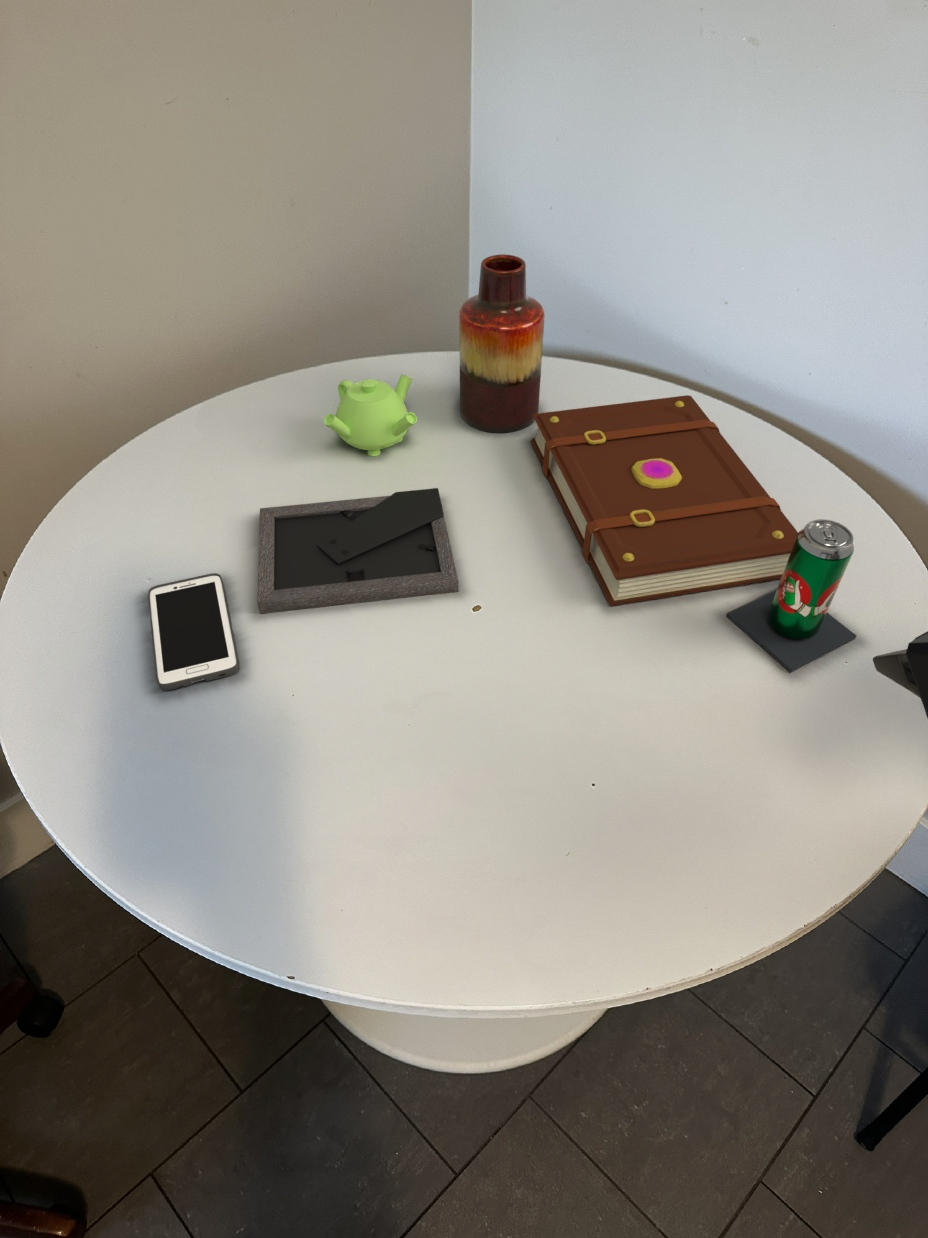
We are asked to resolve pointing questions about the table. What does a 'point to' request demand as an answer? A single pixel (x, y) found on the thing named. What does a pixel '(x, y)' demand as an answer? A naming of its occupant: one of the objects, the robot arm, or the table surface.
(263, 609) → the picture frame
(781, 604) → the soda can
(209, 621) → the cell phone
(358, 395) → the teapot
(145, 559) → the table surface
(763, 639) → the coaster mat
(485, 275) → the vase
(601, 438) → the book
